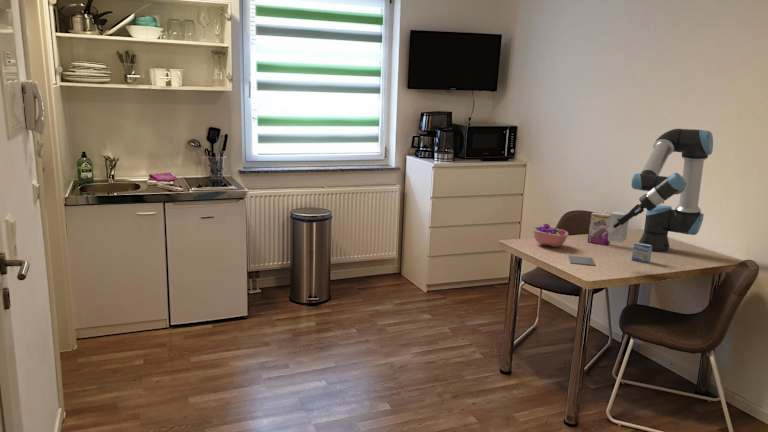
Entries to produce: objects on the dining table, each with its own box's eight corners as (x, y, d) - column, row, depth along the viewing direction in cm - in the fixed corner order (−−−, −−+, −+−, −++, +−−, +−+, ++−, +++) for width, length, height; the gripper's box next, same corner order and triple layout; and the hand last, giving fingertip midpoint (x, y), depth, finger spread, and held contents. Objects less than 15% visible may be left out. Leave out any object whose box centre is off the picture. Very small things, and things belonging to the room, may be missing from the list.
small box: (612, 237, 271) (615, 210, 269) (626, 239, 267) (629, 212, 265) (607, 240, 265) (610, 213, 263) (621, 242, 261) (624, 215, 259)
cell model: (552, 252, 290) (554, 230, 288) (524, 242, 307) (525, 222, 305) (574, 248, 299) (577, 227, 297) (546, 239, 316) (548, 220, 313)
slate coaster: (591, 258, 281) (591, 257, 281) (594, 265, 269) (594, 264, 269) (568, 256, 284) (568, 255, 283) (570, 263, 271) (570, 262, 271)
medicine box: (631, 260, 281) (633, 243, 279) (633, 258, 284) (635, 241, 283) (648, 263, 276) (650, 246, 274) (650, 261, 280) (652, 244, 278)
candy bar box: (587, 242, 313) (590, 213, 310) (589, 240, 317) (592, 212, 314) (608, 246, 307) (612, 216, 304) (610, 244, 312) (613, 214, 308)
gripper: (654, 209, 246) (611, 239, 257) (660, 202, 264) (620, 231, 275) (642, 196, 248) (600, 226, 259) (649, 190, 265) (609, 219, 277)
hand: (610, 229), depth 267 cm, fingers closed on small box, 9 cm apart
